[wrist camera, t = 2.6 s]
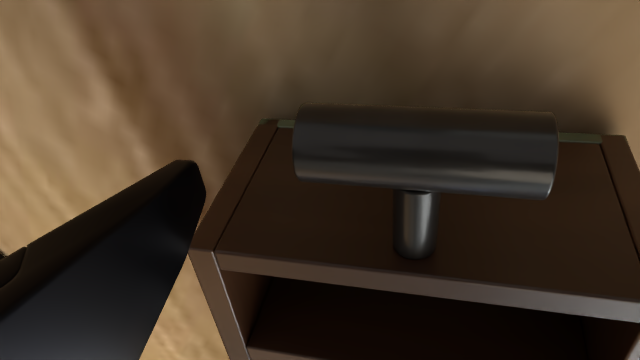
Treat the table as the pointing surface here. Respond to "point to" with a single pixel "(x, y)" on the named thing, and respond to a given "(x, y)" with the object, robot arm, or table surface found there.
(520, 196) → the shelf
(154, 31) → the table surface
